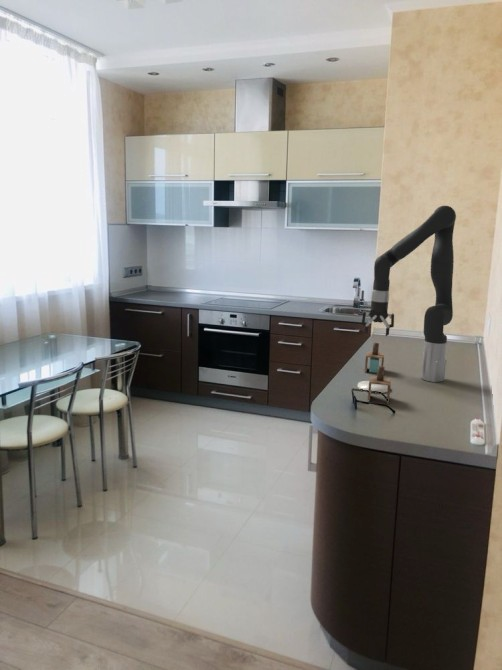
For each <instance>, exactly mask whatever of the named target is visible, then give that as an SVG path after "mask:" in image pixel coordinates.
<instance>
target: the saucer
mask: <svg viewBox="0 0 502 670" xmlns="http://www.w3.org/2000/svg"><path fill="white" fill-rule="evenodd" d="M358 388H359V389H358ZM357 389H358V390H360V389H363V390H369V380H363V381H359V382H358V383H357ZM387 389H388V385H380V384H371V390H372V391H379V392H381V393H380V394H384V393H386V394H387Z"/></svg>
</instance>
